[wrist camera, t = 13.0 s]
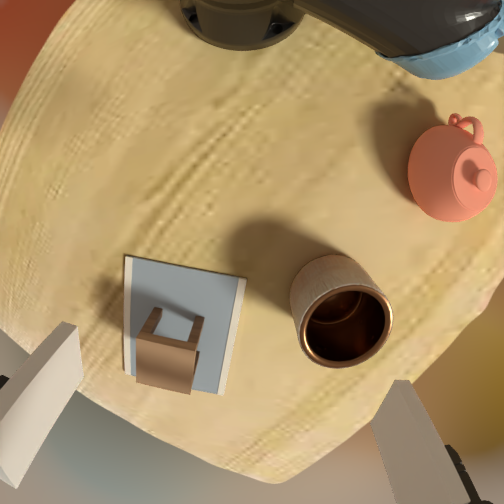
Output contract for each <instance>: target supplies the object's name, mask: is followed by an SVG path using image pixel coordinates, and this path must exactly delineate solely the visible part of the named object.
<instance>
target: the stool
mask: <svg viewBox="0 0 504 504" xmlns="http://www.w3.org/2000/svg"><path fill="white" fill-rule="evenodd" d="M162 313H163V309H162V308H157V307H154V308H153V310H152V312H151V313H150V315H149V317H148V318H147V320H146V322H145V323H144V325H143V327H142V329H141V330H140V332H139V334H138V335H137V337H136V382H137V383H141V384H145V385H149V386H153V387H157V388H162V389H166V390H170V391H175V392H180V393H184V394H189V395H190V392H191V388H192V384H193V380H194V376H195V372H196V368H197V364H198V360H199V355H200V352H199V351H196V350H197V347H198V343H199V340H200V336H201V332H202V329H203V325H204V319H205V317H201V316H196V317H195V320H194V323H193V326H192V329H191V332H190V334H189V337H188V340H187V341H182V340H177V339H173V338H168V337H163V336H159V335H155V334H153V333H154V331H155V329H156V327H157V325H158V323H159V322H160V320H161V318H162Z"/></svg>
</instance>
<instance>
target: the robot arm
mask: <svg viewBox="0 0 504 504" xmlns="http://www.w3.org/2000/svg"><path fill="white" fill-rule="evenodd" d="M180 6H181V11H182V14H183V16H184V18H185V20H186V22H187V23H188V25H189V27H190V28H191V29H192V31H193V32H194V33H195V34H196V35H197V36H199V37H200V38H201V39H203V40H204V41H206V42H208V43H210V44H212V45H214V46H217V47H220V48H224V49H228V50H236V51H249V50H257V49H262V48H266V47H269V46H272V45H274V44H276V43H278V42H280V41H282V40H284V39H285V38H287V37H288V36H289V35H291V34H292V33H293V32H294V31H295V30H296V28H297V27H298V26H299V24H300V23H301V21H302V19H303V17H304V14H305V13H307V14H309V15H311V16H313V17H315V18H317V19H319V20H321V21H323V22H325V23H327V24H329V25H331V26H333V27H335V28H337V29H338V30H340V31H342V32H344V33H346V34H348V35H349V36H351V37H353V38H355V39H356V40H358V41H360V42H361V43H363V44H365V45H366V46H368V47H370V48H371V49H373V50H375V52H376V54H377V55H379V56H380V57H382V58H383V59H386V60H389V61H392V62H394V63H396V64H397V65H399V66H400V67H402V68H403V69H405V70H407V71H408V72H410V73H411V74H413V75H415V76H417V77H419V78H426V79H431V80H439V79H445V78H450V77H453V76H456V75H458V74H460V73H463V72H465V71H466V70H468V69H470V68H472V67H473V66H475V65H476V64H478V63H479V62H481V61H482V60H483V59H485V58H486V57H487V56H488V55H489V54H490V53H491V52H492V51H493V50H494V49H495V48H496V47H497V45H498V40H497V39H498V38H500V37H502V36H504V0H180ZM83 377H84V374H83V367H82V360H81V352H80V344H79V334H78V326H75V325H72V324H69V323H66V322H63V321H62V322H61V323H60V324H59V325H58V326H57V327H56V328H55V329H54V330H53V332H52V333H51V334H50V335H49V336H48V337H47V338H46V339H45V340H44V341H43V342H42V343H41V344H40V345H39V346H38V348H37V349H36V350H35V351H34V352H33V353H32V354H31V355H30V356H29V357H28V359H27V360H26V361H25V362H24V363H23V364H22V365H21V367H20V368H19V369H18V370H17V371H16V372H15V373H14V374H13V375H12V377H11V378H8V377H6V376H4V375H1V376H0V479H1V480H3V481H4V482H6V483H7V484H9V485H11V486H12V487H14V488H16V489H17V487H18V486H19V483H20V482H21V480H22V478H23V476H24V475H25V473H26V471H27V469H28V467H29V466H30V464H31V462H32V460H33V459H34V457H35V455H36V453H37V452H38V450H39V448H40V447H41V445H42V443H43V441H44V440H45V438H46V436H47V435H48V433H49V431H50V429H51V428H52V426H53V425H54V423H55V421H56V420H57V418H58V417H59V415H60V413H61V412H62V410H63V408H64V407H65V405H66V404H67V402H68V401H69V399H70V397H71V396H72V394H73V392H74V391H75V390H76V388H77V387H78V385H79V383H80V382H81V380H82V379H83ZM370 424H371V427H372V430H373V433H374V436H375V439H376V442H377V445H378V448H379V451H380V454H381V457H382V460H383V463H384V466H385V469H386V472H387V475H388V478H389V481H390V484H391V487H392V491H393V493H394V497H395V500H396V503H397V504H493V503H491V502H490V501H485V500H484V501H481V499H480V498H479V496H478V494H477V491H476V489H475V487H474V485H473V483H472V481H471V479H470V477H469V475H468V473H467V472H466V469H465V467H464V465H462V461H461V459H460V457H459V455H458V453H457V452H456V451H455V450H454V449H453V448H452V447H451V446H450V445H444V444H443V442H442V440H441V439H440V436H439V434H438V432H437V431H436V429H435V427H434V425H433V423H432V421H431V419H430V417H429V416H428V414H427V412H426V410H425V408H424V406H423V404H422V402H421V401H420V399H419V397H418V395H417V393H416V392H415V390H414V388H413V386H412V384H411V383H410V381H409V380H394V382H393V384H392V386H391V388H390V390H389V392H388V393H387V395H386V397H385V399H384V400H383V402H382V404H381V406H380V407H379V409H378V411H377V413H376V414H375V416H374V418H373V419H372V421H371V423H370Z"/></svg>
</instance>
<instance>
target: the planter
mask: <svg viewBox="0 0 504 504" xmlns="http://www.w3.org/2000/svg"><path fill="white" fill-rule="evenodd" d="M289 300H290V307H291V311H292V315H293V319H294V323H295V327H296V331H297V336H298V340H299V344H300V347H301V349H302V351H303V352H304V354H305V355H306V356H307V357H308V358H309V359H310V360H311V361H313V362H314V363H316V364H318V365H320V366H323V367H327V368H334V369H340V368H348V367H352V366H355V365H358V364H360V363H362V362H364V361H366V360H368V359H369V358H371V357H372V356H373V355H375V354H376V353H377V352H378V351H379V350H380V349H381V348H382V347H383V345H384V344H385V342H386V341H387V339H388V337H389V335H390V333H391V330H392V326H393V311H392V307H391V304H390V302H389V300H388V299H387V297H386V296H385V295H384V293H383V292H382V291H381V290H380V289H379V287H378V286H377V285H376V284H375V282H374V281H373V280H372V278H371V277H370V276H369V275H368V273H367V272H366V271H365V270H364V268H363V267H362V266H361V265H360V264H359V263H357V262H356V261H354V260H352V259H350V258H348V257H345V256H341V255H327V256H322V257H319V258H317V259H314V260H312V261H311V262H309V263H308V264H306V265H305V266H304V267H303V268H302V269H301V270H300V271H299V272H298V274H297V275H296V276H295V278H294V280H293V282H292V285H291V289H290V297H289Z"/></svg>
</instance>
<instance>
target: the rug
mask: <svg viewBox="0 0 504 504" xmlns="http://www.w3.org/2000/svg"><path fill="white" fill-rule="evenodd" d="M246 282H247V278H242V277H237V276H231V275H226V274H220V273H215V272H210V271H204V270H199V269H194V268H189V267H183V266H178V265H173V264H168V263H163V262H158V261H153V260H148V259H143V258H138V257H133V256H128V255H127V256H126V258H125V279H124V363H125V374H127V375H132V376H136V337H137V335H138V334H139V332H140V330H141V329H142V327H143V325H144V323H145V322H146V320H147V318H148V317H149V315H150V313H151V312H152V310H153V308H154V307H157V308H162V309H163V313H162V318H161V320H160V322H159V323H158V325H157V327H156V329H155V331H154V333H153V334H155V335H159V336H163V337H168V338H173V339H177V340H182V341H187V340H188V337H189V334H190V332H191V329H192V326H193V323H194V320H195V317H196V316H201V317H205V319H204V325H203V329H202V332H201V336H200V340H199V343H198V347H197V350H196V351H199V352H200V355H199V360H198V364H197V368H196V372H195V376H194V380H193V384H192V388H191V389H193V390H198V391H203V392H209V393H214V394H217V395H223V396H224V391H225V386H226V381H227V376H228V371H229V366H230V361H231V356H232V351H233V346H234V342H235V337H236V332H237V327H238V322H239V317H240V312H241V307H242V302H243V297H244V292H245V287H246Z"/></svg>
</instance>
